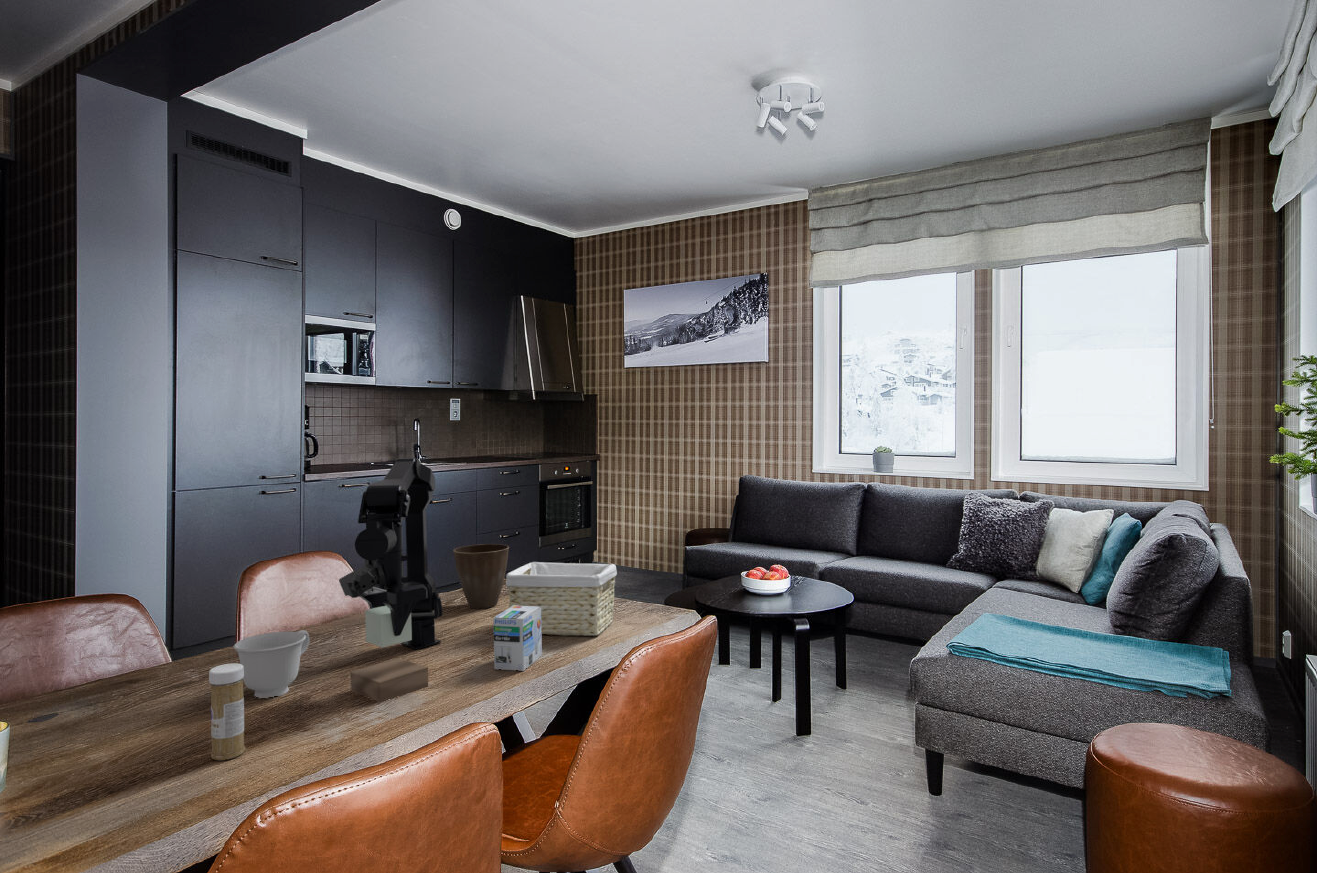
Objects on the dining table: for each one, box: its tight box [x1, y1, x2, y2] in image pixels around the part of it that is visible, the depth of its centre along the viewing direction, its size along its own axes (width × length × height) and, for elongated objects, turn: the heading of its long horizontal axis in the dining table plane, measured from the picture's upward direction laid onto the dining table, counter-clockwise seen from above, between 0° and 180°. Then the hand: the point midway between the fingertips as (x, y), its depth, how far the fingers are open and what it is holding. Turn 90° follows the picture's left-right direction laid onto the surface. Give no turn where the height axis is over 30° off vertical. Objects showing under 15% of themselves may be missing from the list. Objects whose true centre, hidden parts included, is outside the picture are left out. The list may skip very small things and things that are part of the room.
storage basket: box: [505, 561, 618, 637], centre depth 178 cm, size 24×16×15 cm
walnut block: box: [350, 657, 429, 704], centre depth 138 cm, size 10×10×4 cm
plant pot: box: [452, 543, 510, 609], centre depth 201 cm, size 15×15×16 cm
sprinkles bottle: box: [208, 662, 246, 761], centre depth 111 cm, size 5×5×14 cm
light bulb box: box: [492, 605, 543, 672], centre depth 152 cm, size 11×7×11 cm, turn 168°
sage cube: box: [364, 606, 412, 648], centre depth 138 cm, size 6×6×6 cm
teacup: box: [232, 629, 311, 699], centre depth 138 cm, size 12×15×10 cm
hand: (388, 632), depth 138 cm, fingers closed on sage cube, 6 cm apart
